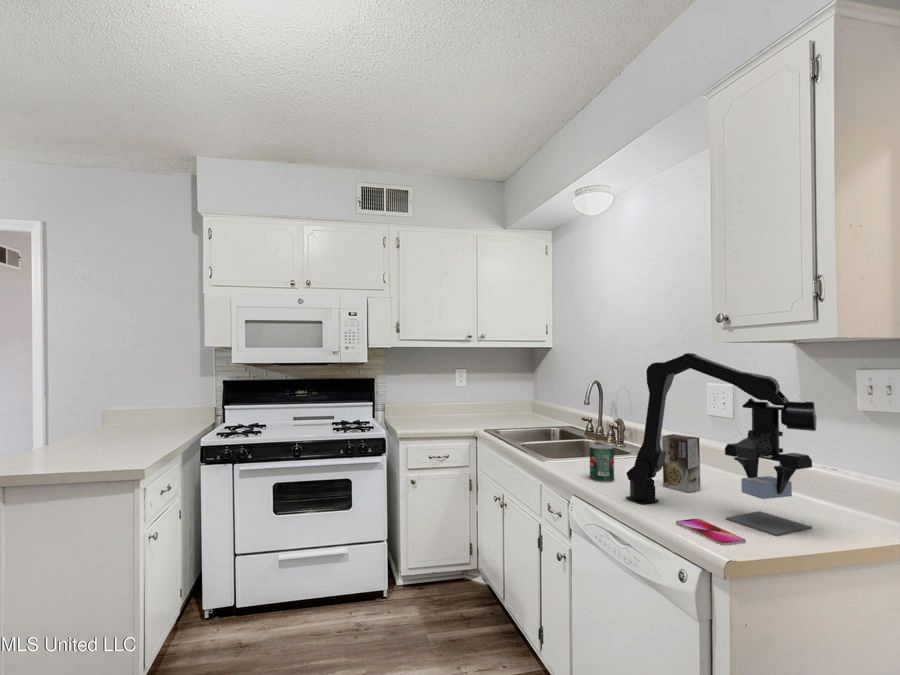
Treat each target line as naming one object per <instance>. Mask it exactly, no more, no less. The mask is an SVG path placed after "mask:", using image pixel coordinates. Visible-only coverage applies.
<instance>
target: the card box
mask: <svg viewBox="0 0 900 675" xmlns="http://www.w3.org/2000/svg"><path fill="white" fill-rule="evenodd" d="M792 483H793V482H792V481H790V480H789V481H788V483H787V485H786V487H785V489H784V491H783V493H782V494H778V492H777V477H776V476H775V477H774V476H770V475H767V476H764V475H763V476H757V477H752V478H748V477H742V478H741V493H743V494H746V495H749V496H751V497H754V498H758V499H760V500H767V499H777V498H778V499H779V498H786V497H787V498H788V497H790V498H791V497H792V496H793V495H792V494H793V492H792V490H793V489H792V488H793V487H792Z"/></svg>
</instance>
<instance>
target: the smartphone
mask: <svg viewBox="0 0 900 675" xmlns="http://www.w3.org/2000/svg"><path fill="white" fill-rule="evenodd" d="M675 525H676V526H677V527H680V528H682V527H683V528H682V529H684V528H685V529H684V530H686V529H688V530H690V531H692V532H691V533H693V532H694V533H693V534H695V533H696V534H695V535H697V534H698V536H699V535H700V536H699V537H701V536H702V537H701V538H703V537H705V538H706V539H705V538H704V539H705V540H708V539H709V540H708V541H710V540H711V541H710V542H712V541H713V542H712V543H714V542H715V543H714V544H716V543H717V545H718V544H720V545H719V546H724V545H725V546H733V545H734V544H735V543H736V544H735V545H740V544H739V543H741V544H746V543H747V540H746V539H745V538H743V537H742V536H739V535H736V534H735V533H732V532H730V531H728V530H726V529H723V528H721V527H718V526H716V525H715V524H711V523H709V522H708V521H705V520H703V519H701V518H689V519H682V520H680V519H679V520H676V521H675ZM688 530H687V531H688ZM690 531H689V532H690Z"/></svg>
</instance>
